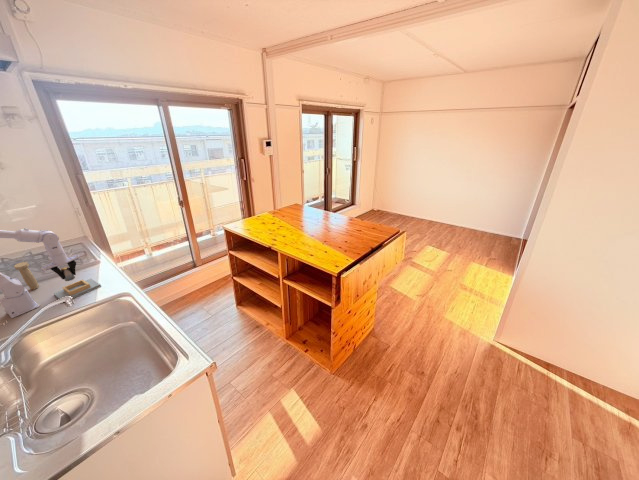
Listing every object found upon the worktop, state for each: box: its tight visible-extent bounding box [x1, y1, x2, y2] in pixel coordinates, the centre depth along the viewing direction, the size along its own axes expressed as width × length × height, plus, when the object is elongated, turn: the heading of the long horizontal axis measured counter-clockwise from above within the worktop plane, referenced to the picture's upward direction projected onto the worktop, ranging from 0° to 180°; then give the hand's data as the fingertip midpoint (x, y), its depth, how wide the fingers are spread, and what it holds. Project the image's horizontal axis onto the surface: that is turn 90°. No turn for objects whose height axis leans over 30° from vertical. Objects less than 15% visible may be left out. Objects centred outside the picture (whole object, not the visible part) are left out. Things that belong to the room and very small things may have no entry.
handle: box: [13, 261, 40, 291], centre depth 134 cm, size 5×6×15 cm
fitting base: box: [53, 278, 102, 299], centre depth 134 cm, size 16×12×3 cm
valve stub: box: [60, 266, 76, 282], centre depth 132 cm, size 4×4×7 cm
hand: (68, 276), depth 132 cm, fingers closed on valve stub, 4 cm apart
